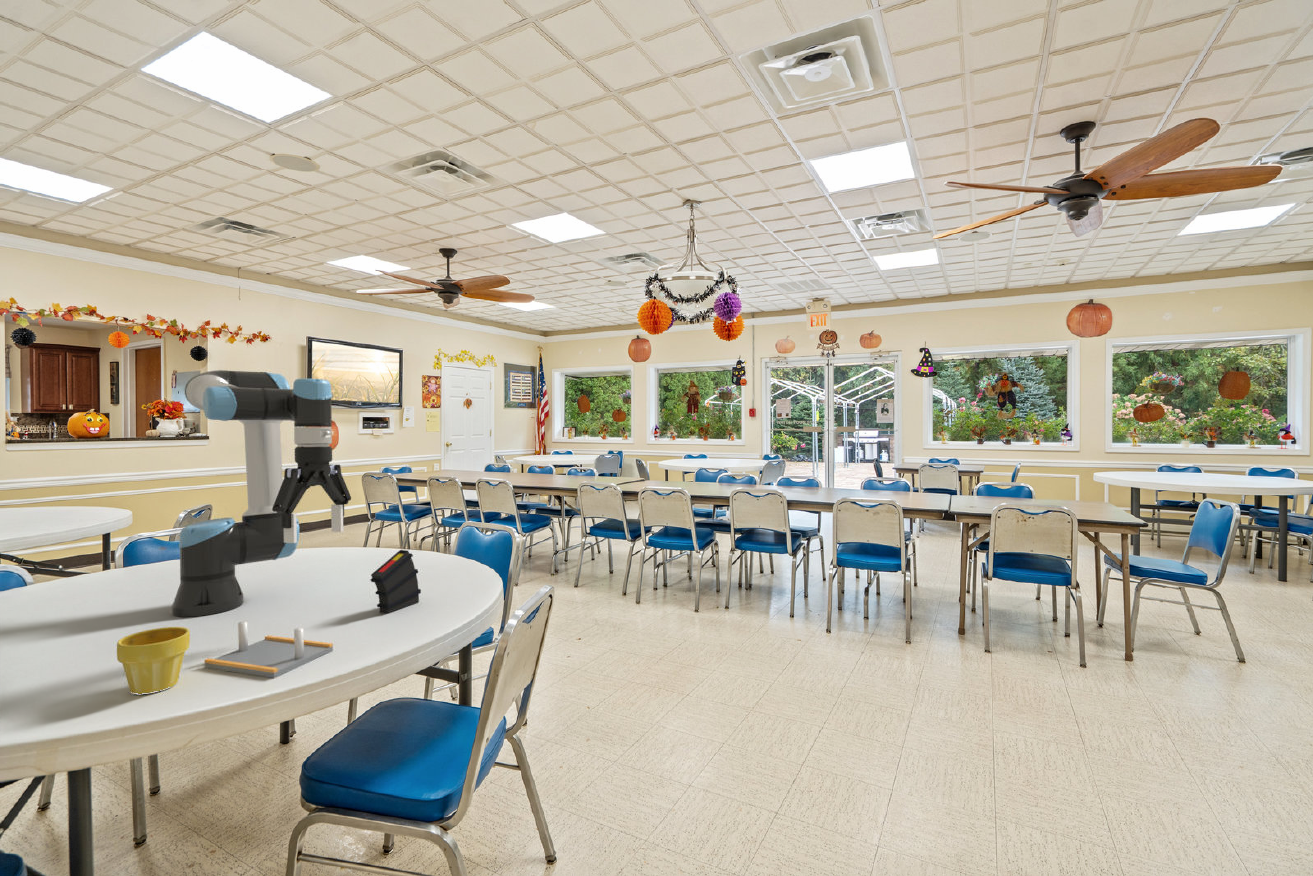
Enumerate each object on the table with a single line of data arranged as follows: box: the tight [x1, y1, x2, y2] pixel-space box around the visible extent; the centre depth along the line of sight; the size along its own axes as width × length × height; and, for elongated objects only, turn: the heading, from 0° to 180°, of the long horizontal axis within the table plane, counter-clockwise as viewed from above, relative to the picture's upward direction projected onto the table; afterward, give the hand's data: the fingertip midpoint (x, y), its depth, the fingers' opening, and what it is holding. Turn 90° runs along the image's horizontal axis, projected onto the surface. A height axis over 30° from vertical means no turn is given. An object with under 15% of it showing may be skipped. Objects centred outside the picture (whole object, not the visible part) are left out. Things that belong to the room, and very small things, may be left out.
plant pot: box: [116, 626, 191, 694], centre depth 108 cm, size 10×10×10 cm
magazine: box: [370, 549, 422, 614], centre depth 155 cm, size 4×13×15 cm, turn 157°
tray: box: [203, 620, 334, 679], centre depth 121 cm, size 18×14×7 cm
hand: (315, 536), depth 134 cm, fingers open, 13 cm apart
